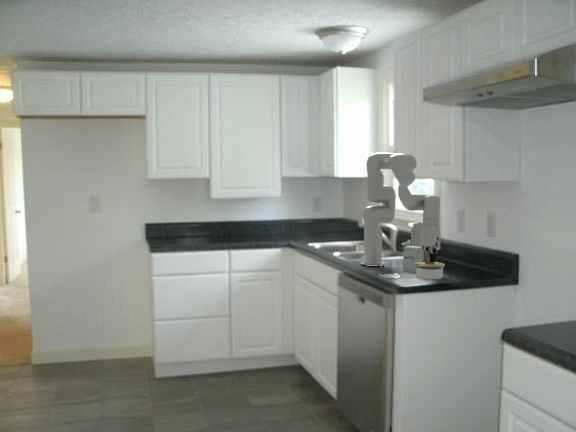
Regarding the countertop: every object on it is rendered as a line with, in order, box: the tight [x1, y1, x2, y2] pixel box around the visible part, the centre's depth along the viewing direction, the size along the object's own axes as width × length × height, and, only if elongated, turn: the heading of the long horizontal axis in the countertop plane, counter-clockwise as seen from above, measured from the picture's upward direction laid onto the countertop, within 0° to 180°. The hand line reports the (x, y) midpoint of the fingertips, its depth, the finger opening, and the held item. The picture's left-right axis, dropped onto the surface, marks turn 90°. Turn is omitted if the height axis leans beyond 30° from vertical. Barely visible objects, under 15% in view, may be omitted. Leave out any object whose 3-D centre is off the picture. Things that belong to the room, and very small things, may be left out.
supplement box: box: [402, 245, 423, 273], centre depth 300 cm, size 7×7×13 cm
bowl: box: [415, 266, 444, 280], centre depth 283 cm, size 12×12×5 cm
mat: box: [399, 272, 414, 279], centre depth 285 cm, size 14×14×1 cm
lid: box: [415, 249, 446, 268], centre depth 282 cm, size 14×14×7 cm
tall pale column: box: [410, 221, 424, 261], centre depth 335 cm, size 11×4×22 cm, turn 106°
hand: (429, 260), depth 282 cm, fingers closed on lid, 3 cm apart
